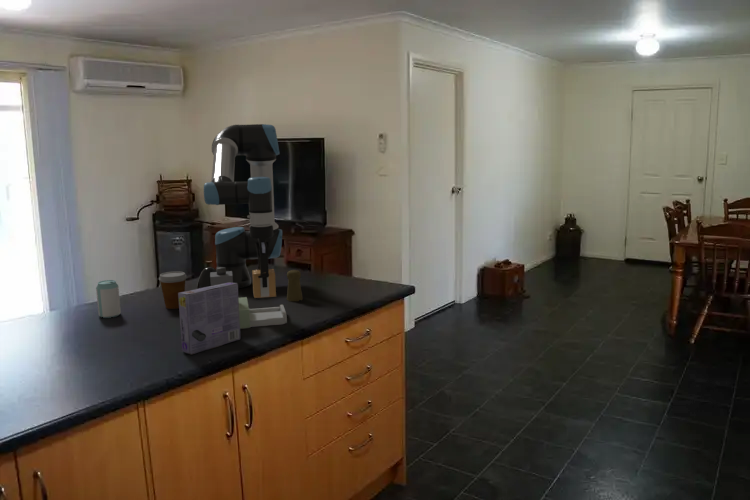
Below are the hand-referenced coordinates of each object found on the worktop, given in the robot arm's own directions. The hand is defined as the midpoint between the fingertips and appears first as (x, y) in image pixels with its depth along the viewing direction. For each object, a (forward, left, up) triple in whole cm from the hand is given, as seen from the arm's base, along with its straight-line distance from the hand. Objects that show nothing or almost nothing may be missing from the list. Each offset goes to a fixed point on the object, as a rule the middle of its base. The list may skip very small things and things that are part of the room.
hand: (264, 293), depth 210 cm
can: (-19, -52, -9) cm, 56 cm away
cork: (-23, +12, -9) cm, 28 cm away
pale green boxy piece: (0, -6, -9) cm, 11 cm away
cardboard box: (0, 0, 0) cm, 0 cm away
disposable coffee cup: (-25, -31, -9) cm, 40 cm away
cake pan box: (+22, -17, -9) cm, 29 cm away
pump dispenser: (-18, -18, -9) cm, 27 cm away
